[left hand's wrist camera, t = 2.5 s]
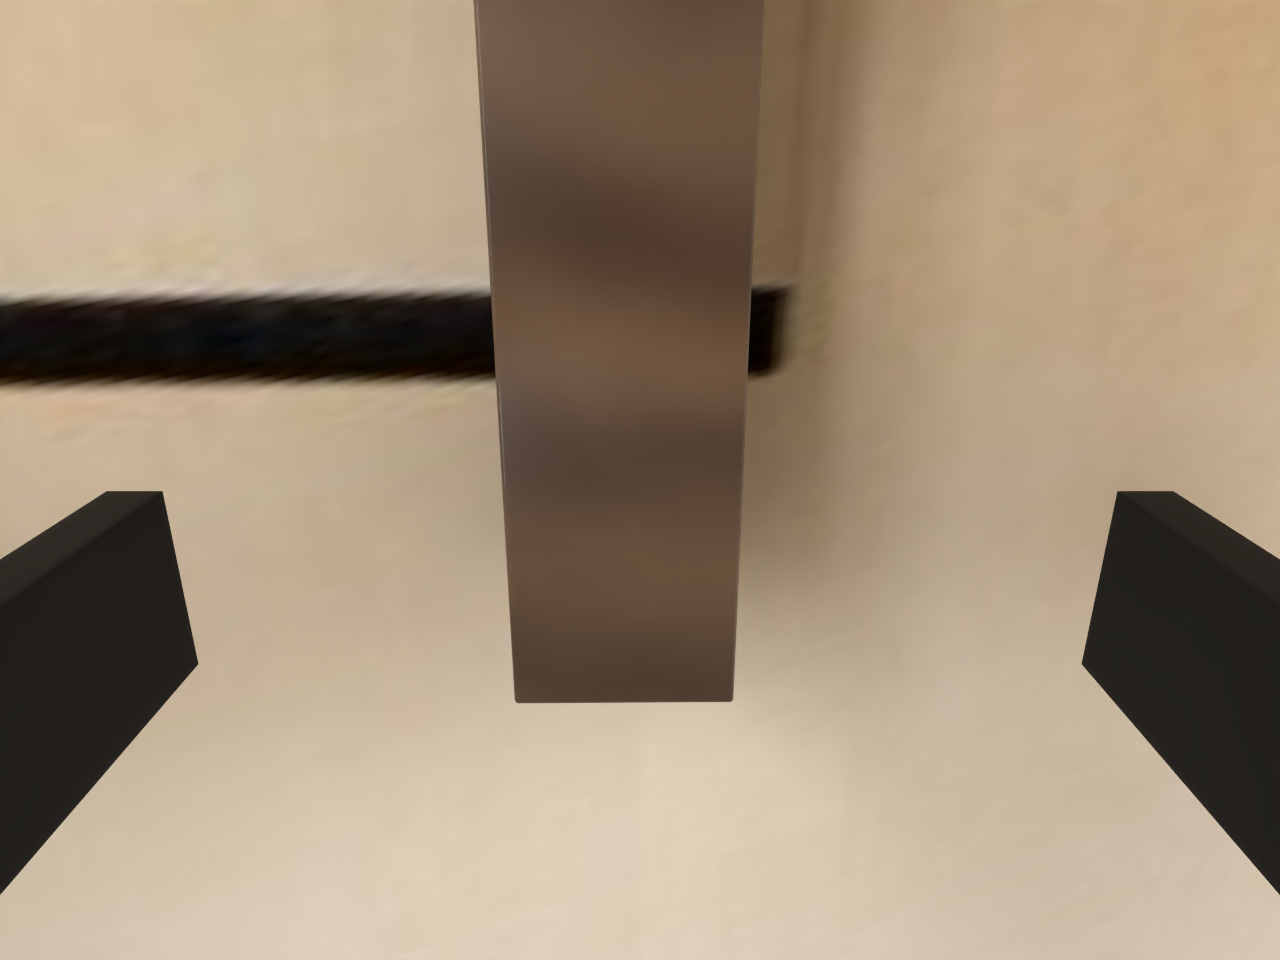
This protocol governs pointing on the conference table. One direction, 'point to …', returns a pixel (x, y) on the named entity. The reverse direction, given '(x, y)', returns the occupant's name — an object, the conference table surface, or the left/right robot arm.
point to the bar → (621, 334)
